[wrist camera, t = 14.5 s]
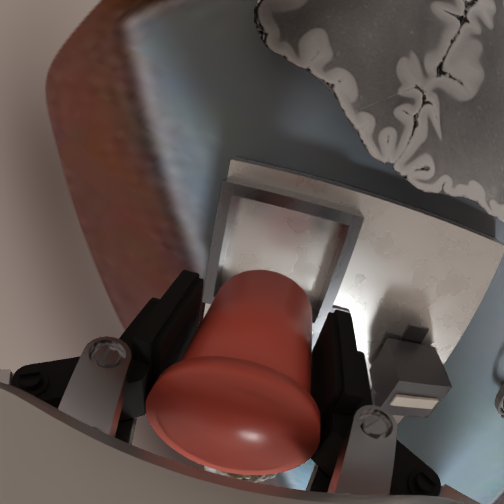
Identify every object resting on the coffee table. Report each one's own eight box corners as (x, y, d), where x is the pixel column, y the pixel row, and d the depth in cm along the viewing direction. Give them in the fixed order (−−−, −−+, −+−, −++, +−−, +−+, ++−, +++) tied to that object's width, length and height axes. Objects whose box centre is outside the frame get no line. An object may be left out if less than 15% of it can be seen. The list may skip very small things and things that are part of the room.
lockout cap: (301, 367, 13) (289, 485, 8) (201, 342, 14) (149, 447, 8) (335, 279, 11) (350, 400, 6) (215, 249, 12) (142, 347, 6)
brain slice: (562, 65, 10) (585, 63, 7) (482, 243, 17) (503, 261, 14) (342, -96, 9) (344, -119, 6) (225, 80, 16) (209, 72, 13)
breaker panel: (377, 433, 25) (379, 457, 22) (195, 396, 26) (185, 420, 23) (495, 238, 16) (518, 255, 13) (236, 156, 17) (223, 162, 15)
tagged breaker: (415, 377, 19) (427, 419, 15) (369, 369, 20) (376, 415, 16) (435, 346, 18) (452, 389, 14) (387, 337, 18) (400, 383, 14)
